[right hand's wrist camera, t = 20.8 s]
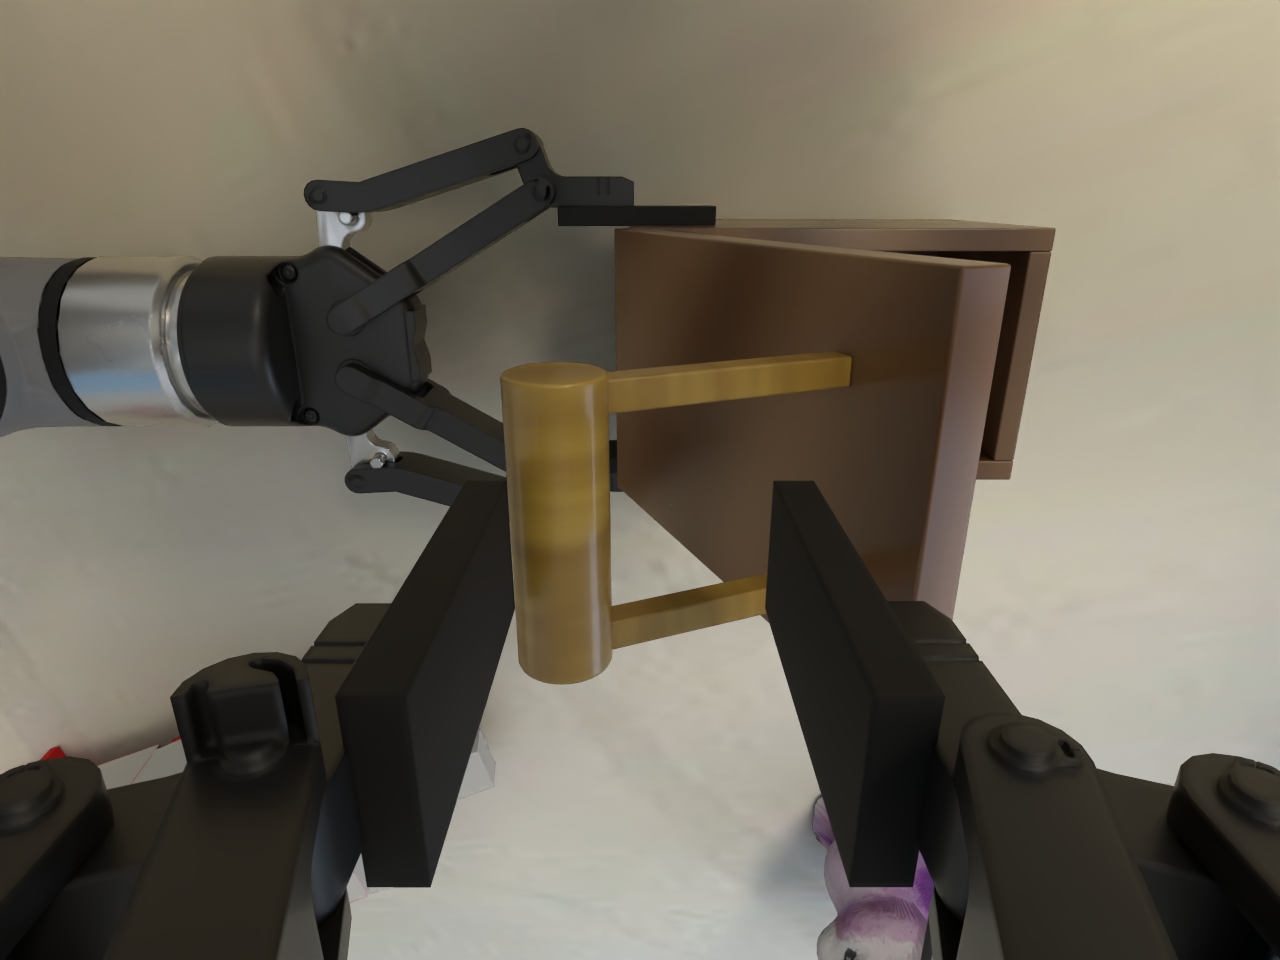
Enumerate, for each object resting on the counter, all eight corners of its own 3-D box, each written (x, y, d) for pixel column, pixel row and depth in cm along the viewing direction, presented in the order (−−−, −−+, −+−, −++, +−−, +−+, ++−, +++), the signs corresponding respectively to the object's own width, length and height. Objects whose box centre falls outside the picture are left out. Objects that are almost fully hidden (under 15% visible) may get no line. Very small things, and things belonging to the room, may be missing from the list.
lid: (1013, 263, 14) (543, 284, 11) (936, 725, 17) (568, 845, 14) (643, 228, 29) (399, 232, 25) (643, 482, 32) (429, 514, 29)
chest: (952, 219, 39) (1056, 228, 29) (925, 414, 42) (1010, 480, 32) (633, 219, 39) (629, 227, 29) (633, 413, 42) (630, 479, 32)
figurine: (774, 823, 52) (826, 1053, 38) (893, 740, 50) (995, 953, 36) (857, 897, 55) (935, 1138, 41) (975, 820, 53) (1100, 1049, 38)
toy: (508, 882, 41) (-29, 1076, 40) (513, 730, 54) (103, 876, 53) (421, 704, 37) (-179, 916, 36) (448, 586, 50) (3, 740, 49)
